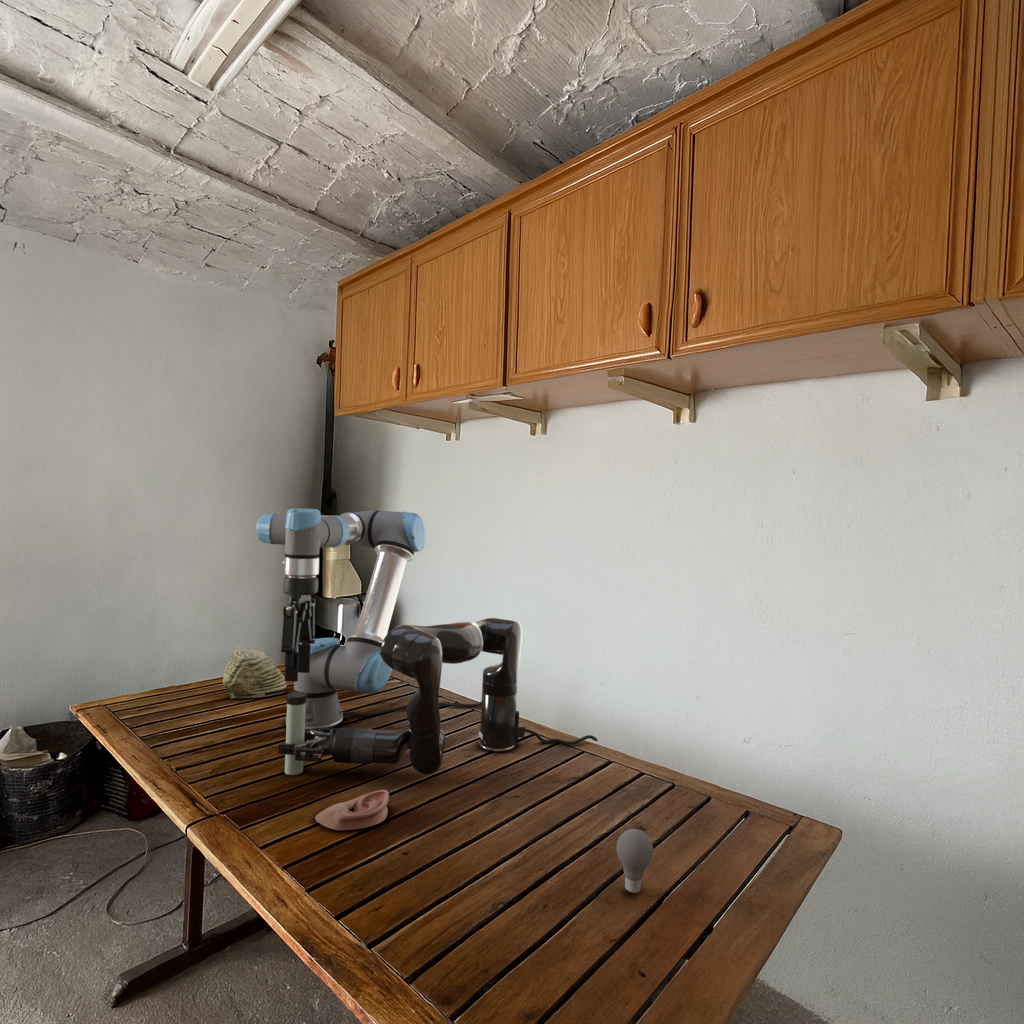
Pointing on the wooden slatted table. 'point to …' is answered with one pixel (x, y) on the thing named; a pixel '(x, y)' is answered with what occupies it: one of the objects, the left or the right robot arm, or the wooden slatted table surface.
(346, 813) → the anatomical model
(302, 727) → the pale green cylinder
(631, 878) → the light bulb
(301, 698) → the lid
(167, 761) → the wooden slatted table surface
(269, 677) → the fossil
